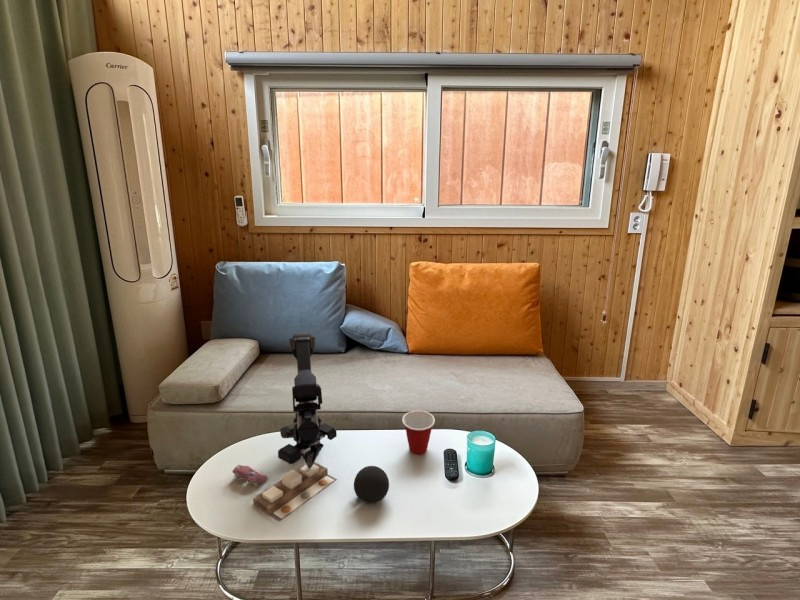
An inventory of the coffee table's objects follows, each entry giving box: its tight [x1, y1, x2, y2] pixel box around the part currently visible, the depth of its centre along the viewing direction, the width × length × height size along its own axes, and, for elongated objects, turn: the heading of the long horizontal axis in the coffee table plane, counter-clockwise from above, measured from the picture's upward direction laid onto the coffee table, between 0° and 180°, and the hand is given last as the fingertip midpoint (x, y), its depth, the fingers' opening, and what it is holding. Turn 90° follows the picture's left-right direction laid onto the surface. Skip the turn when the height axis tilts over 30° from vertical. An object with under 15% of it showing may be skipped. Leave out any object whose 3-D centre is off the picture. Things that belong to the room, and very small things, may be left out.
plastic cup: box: [402, 410, 436, 456], centre depth 155 cm, size 11×11×12 cm
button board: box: [252, 461, 338, 523], centre depth 135 cm, size 22×11×3 cm, turn 144°
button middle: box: [281, 469, 302, 490], centre depth 135 cm, size 4×4×3 cm
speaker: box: [353, 465, 390, 505], centre depth 132 cm, size 10×10×10 cm
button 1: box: [261, 485, 283, 504], centre depth 130 cm, size 4×4×3 cm
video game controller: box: [231, 464, 269, 485], centre depth 139 cm, size 10×5×7 cm, turn 63°
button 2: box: [299, 464, 319, 478], centre depth 141 cm, size 4×4×3 cm
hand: (309, 467), depth 141 cm, fingers closed
